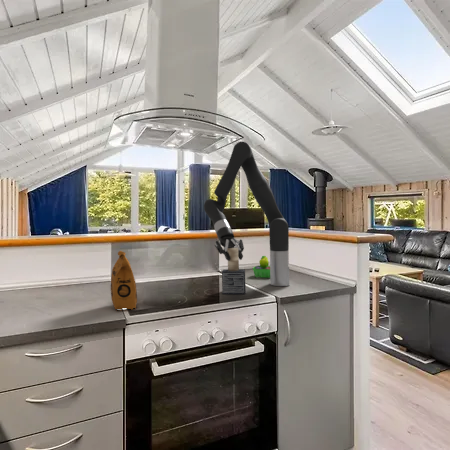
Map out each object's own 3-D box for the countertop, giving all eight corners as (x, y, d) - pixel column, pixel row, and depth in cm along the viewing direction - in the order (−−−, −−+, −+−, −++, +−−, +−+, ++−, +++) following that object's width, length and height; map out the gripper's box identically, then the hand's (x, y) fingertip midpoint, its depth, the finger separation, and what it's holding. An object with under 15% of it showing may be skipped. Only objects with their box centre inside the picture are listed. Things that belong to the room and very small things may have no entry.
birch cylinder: (239, 268, 149) (238, 247, 148) (238, 271, 144) (238, 248, 143) (228, 269, 149) (227, 247, 148) (227, 271, 144) (226, 249, 143)
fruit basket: (252, 277, 178) (252, 257, 177) (255, 274, 186) (255, 255, 186) (272, 278, 175) (272, 258, 174) (275, 275, 183) (275, 255, 182)
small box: (245, 291, 150) (245, 268, 149) (245, 294, 143) (245, 271, 142) (223, 290, 151) (223, 268, 150) (221, 294, 144) (221, 271, 144)
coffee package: (110, 312, 121) (108, 255, 120) (111, 303, 133) (109, 251, 132) (138, 309, 124) (136, 253, 123) (136, 301, 136) (134, 249, 135)
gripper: (212, 226, 149) (223, 255, 139) (239, 225, 155) (252, 253, 145) (208, 237, 154) (218, 265, 144) (234, 235, 160) (246, 262, 150)
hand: (235, 259), depth 144 cm, fingers open, 5 cm apart
